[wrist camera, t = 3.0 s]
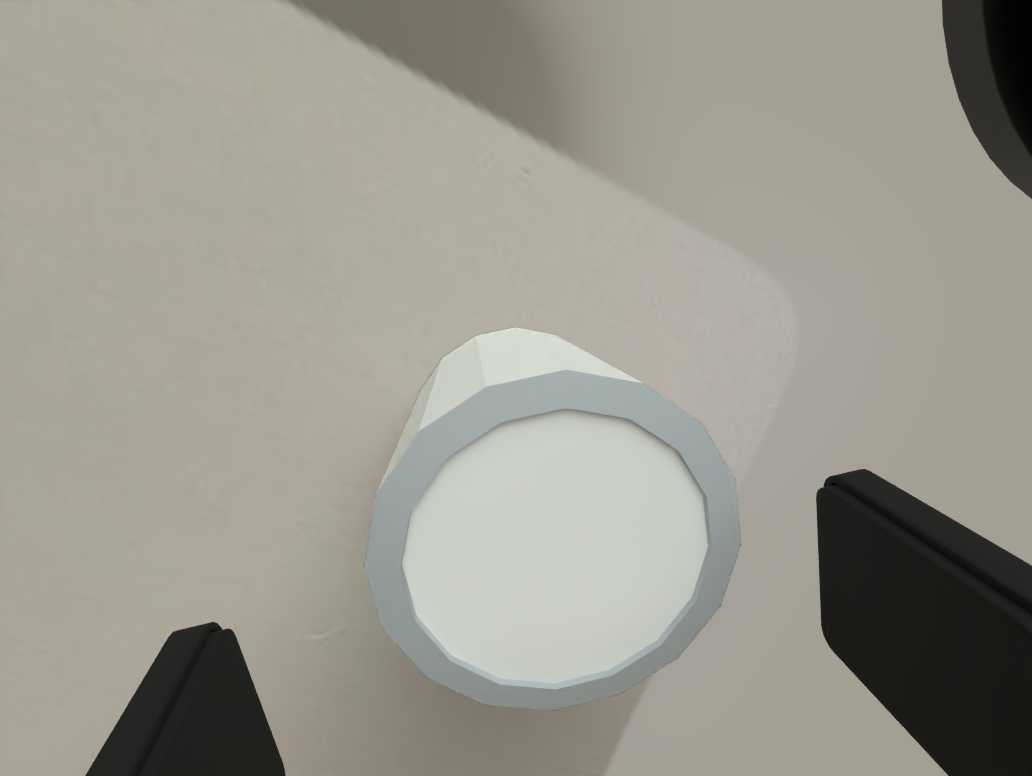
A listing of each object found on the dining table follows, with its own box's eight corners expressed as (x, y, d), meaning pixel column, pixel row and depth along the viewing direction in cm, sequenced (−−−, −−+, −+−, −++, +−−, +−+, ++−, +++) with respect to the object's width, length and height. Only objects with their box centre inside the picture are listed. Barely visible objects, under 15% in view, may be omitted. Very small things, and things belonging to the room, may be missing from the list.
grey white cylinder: (445, 264, 16) (451, 307, 10) (671, 358, 18) (812, 452, 11) (356, 491, 18) (308, 664, 11) (572, 560, 19) (644, 750, 13)
